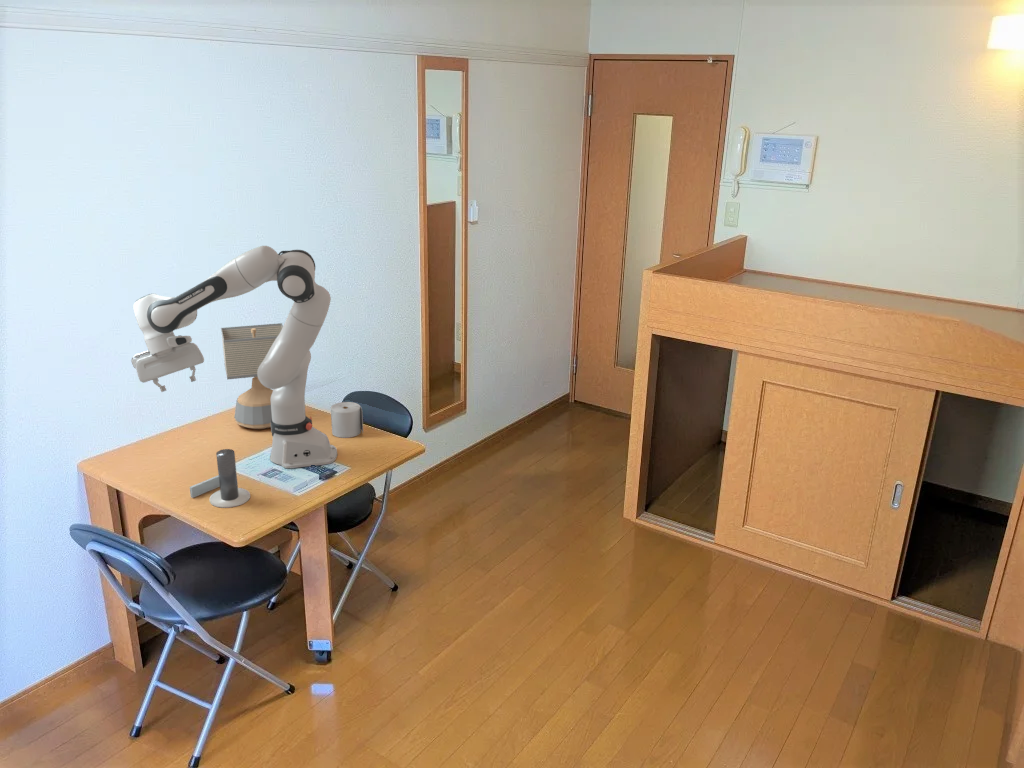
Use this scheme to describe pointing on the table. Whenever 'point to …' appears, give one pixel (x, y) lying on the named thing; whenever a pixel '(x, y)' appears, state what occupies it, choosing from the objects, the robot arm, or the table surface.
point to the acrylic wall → (204, 486)
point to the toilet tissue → (346, 419)
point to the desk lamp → (250, 370)
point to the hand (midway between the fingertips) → (179, 386)
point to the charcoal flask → (227, 474)
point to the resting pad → (242, 498)
